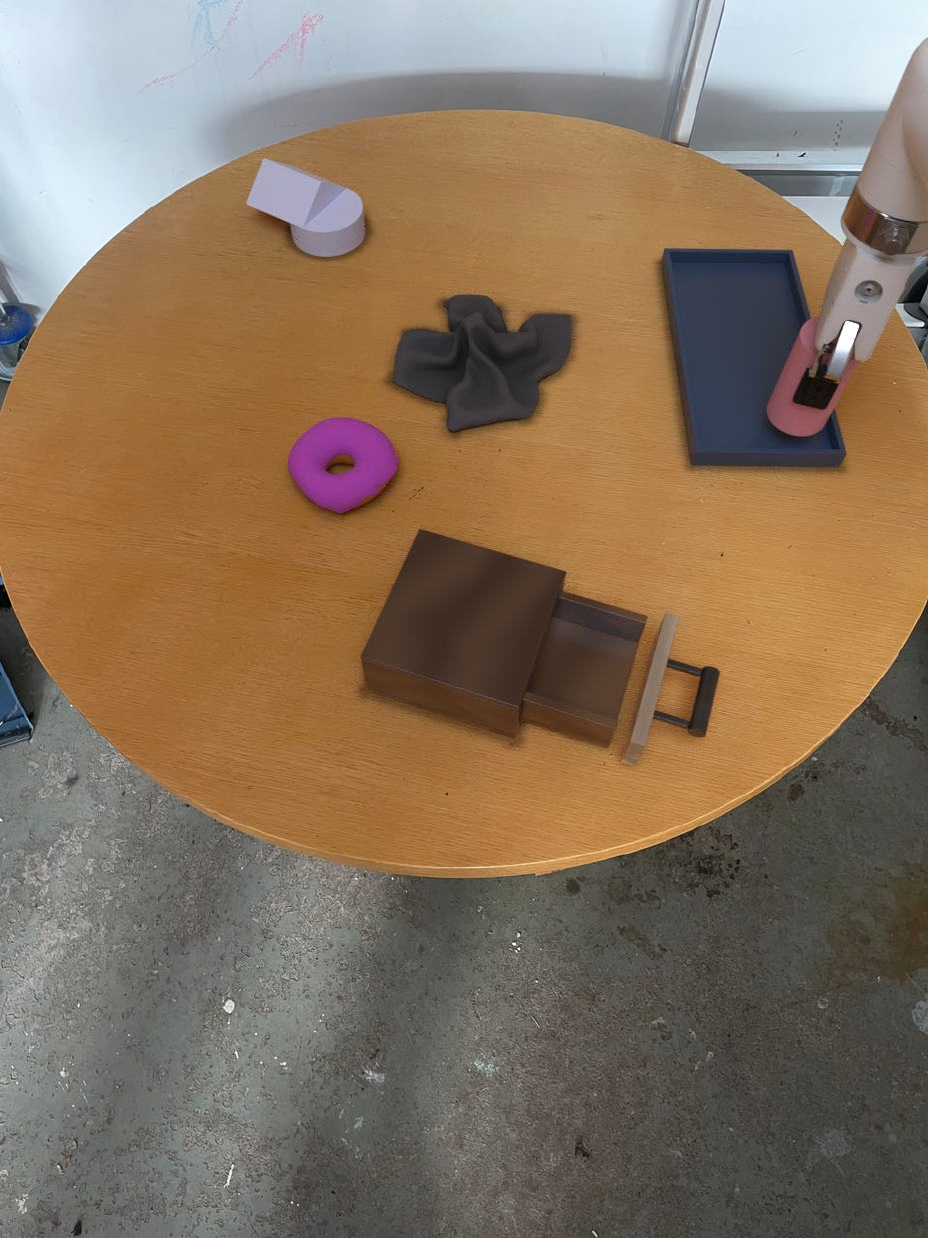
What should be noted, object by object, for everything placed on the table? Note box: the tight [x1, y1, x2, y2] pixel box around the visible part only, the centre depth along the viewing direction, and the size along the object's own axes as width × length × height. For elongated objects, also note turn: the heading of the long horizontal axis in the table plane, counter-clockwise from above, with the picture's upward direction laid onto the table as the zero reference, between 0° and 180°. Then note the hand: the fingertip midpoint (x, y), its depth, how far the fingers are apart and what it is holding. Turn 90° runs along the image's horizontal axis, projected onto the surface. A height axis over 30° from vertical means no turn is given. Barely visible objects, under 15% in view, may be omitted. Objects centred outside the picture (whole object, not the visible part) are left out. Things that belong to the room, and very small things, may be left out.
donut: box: [287, 416, 400, 514], centre depth 86 cm, size 10×10×5 cm
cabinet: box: [360, 528, 567, 740], centre depth 75 cm, size 14×14×7 cm
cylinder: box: [767, 315, 860, 436], centre depth 84 cm, size 6×6×10 cm
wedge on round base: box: [245, 157, 366, 258], centre depth 104 cm, size 9×7×13 cm
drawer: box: [519, 590, 721, 768], centre depth 73 cm, size 17×12×5 cm
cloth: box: [390, 293, 572, 432], centre depth 94 cm, size 22×19×6 cm
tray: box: [660, 247, 848, 468], centre depth 96 cm, size 31×15×2 cm, turn 179°
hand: (814, 378), depth 84 cm, fingers closed on cylinder, 6 cm apart
